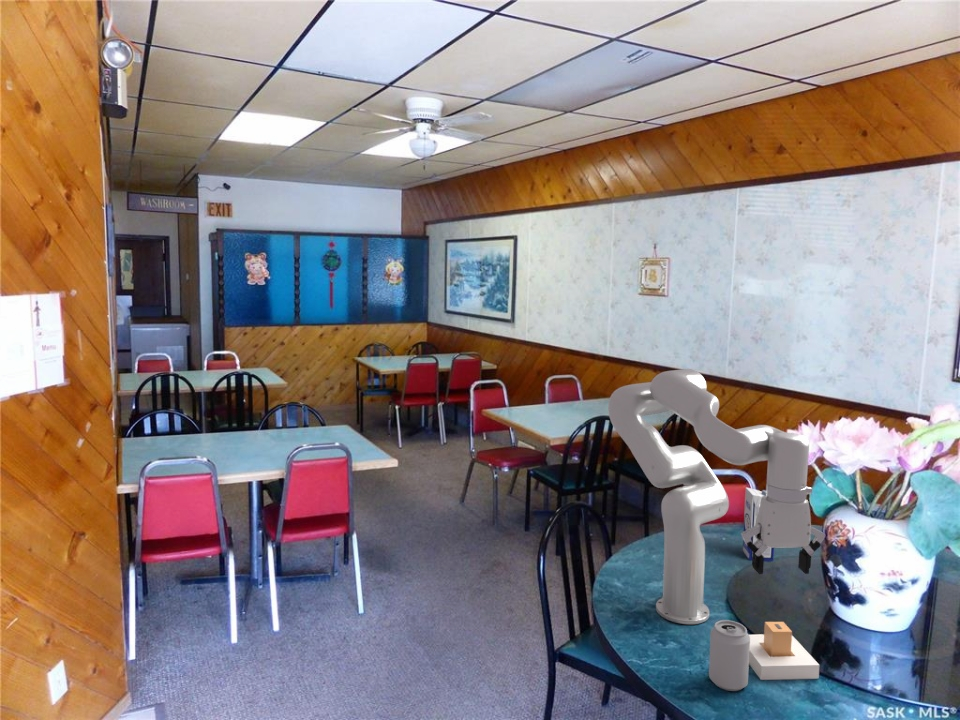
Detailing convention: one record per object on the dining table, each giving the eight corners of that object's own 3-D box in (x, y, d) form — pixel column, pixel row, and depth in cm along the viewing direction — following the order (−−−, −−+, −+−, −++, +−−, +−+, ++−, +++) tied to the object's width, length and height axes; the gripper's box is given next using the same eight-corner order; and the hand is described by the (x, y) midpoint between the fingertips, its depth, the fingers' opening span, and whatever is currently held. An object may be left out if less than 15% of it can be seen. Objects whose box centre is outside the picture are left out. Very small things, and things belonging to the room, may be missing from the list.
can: (738, 671, 140) (741, 617, 138) (754, 693, 132) (757, 636, 131) (703, 671, 140) (705, 617, 138) (717, 694, 132) (719, 637, 131)
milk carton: (742, 550, 201) (745, 486, 198) (765, 551, 200) (768, 487, 198) (749, 560, 194) (752, 494, 191) (773, 561, 193) (777, 494, 191)
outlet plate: (736, 647, 149) (737, 634, 148) (790, 646, 149) (790, 633, 149) (760, 679, 137) (761, 666, 136) (818, 678, 137) (819, 665, 137)
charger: (762, 656, 145) (764, 621, 144) (781, 656, 145) (783, 621, 144) (771, 667, 141) (773, 631, 140) (790, 667, 141) (792, 631, 140)
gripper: (817, 486, 142) (812, 563, 145) (737, 487, 142) (733, 563, 144) (836, 498, 135) (830, 579, 137) (752, 499, 135) (747, 579, 137)
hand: (780, 571), depth 141 cm, fingers open, 9 cm apart
